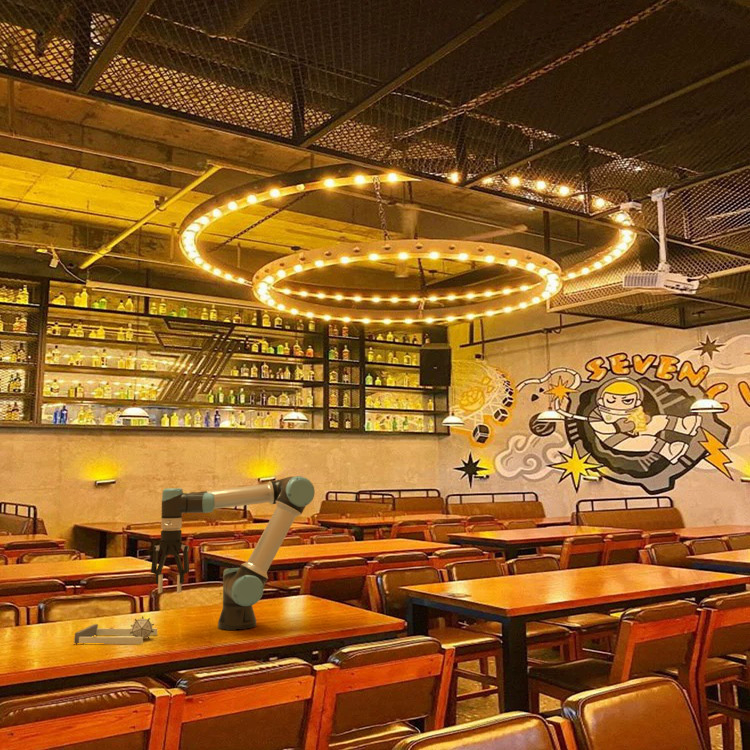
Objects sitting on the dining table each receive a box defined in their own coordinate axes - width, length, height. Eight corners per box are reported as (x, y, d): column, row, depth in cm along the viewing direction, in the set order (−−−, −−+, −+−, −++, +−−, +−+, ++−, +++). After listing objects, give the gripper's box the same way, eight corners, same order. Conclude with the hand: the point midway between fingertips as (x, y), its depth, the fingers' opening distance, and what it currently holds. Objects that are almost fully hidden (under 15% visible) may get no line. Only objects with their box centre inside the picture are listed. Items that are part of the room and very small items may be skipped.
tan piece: (157, 635, 282) (157, 624, 283) (141, 644, 266) (142, 633, 267) (92, 635, 283) (93, 624, 284) (73, 644, 267) (74, 633, 268)
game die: (137, 651, 272) (123, 631, 269) (139, 638, 280) (124, 618, 277) (159, 638, 273) (145, 618, 270) (160, 626, 281) (146, 606, 278)
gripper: (142, 530, 276) (140, 594, 273) (193, 530, 275) (192, 594, 272) (149, 529, 283) (147, 591, 280) (199, 528, 282) (198, 591, 279)
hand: (169, 592), depth 276 cm, fingers open, 6 cm apart
